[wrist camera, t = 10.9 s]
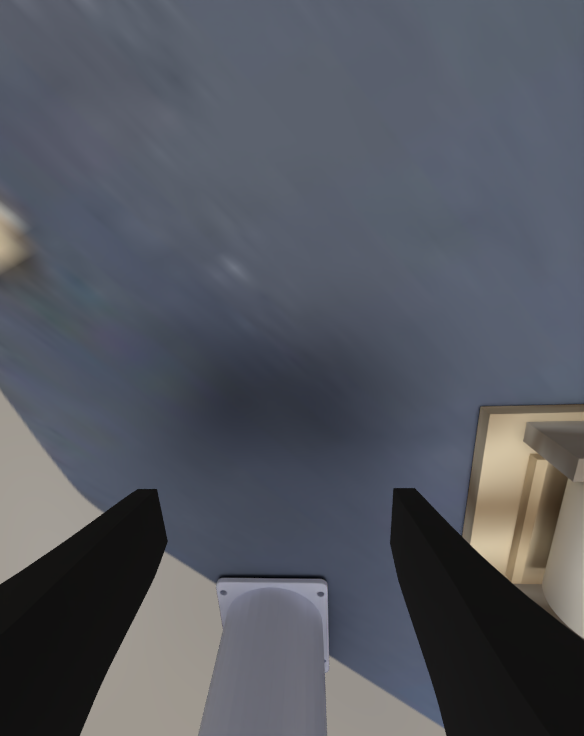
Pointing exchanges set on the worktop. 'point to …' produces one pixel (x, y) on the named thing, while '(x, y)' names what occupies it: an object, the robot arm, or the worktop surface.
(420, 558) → the robot arm
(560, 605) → the paper roll
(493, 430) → the roll holder
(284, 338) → the worktop surface
